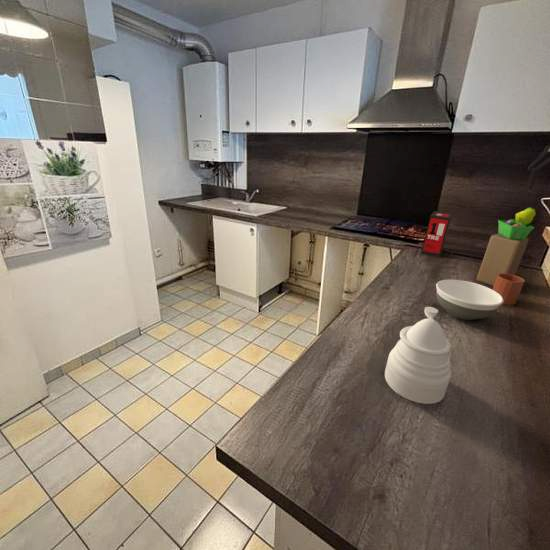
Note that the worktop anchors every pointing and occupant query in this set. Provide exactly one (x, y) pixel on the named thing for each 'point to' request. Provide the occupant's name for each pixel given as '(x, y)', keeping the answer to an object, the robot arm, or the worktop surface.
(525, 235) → the fruit basket
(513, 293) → the terracotta plant pot
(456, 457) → the worktop surface
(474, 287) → the bowl
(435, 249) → the cleaning product box
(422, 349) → the honey pot
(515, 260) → the wooden block
